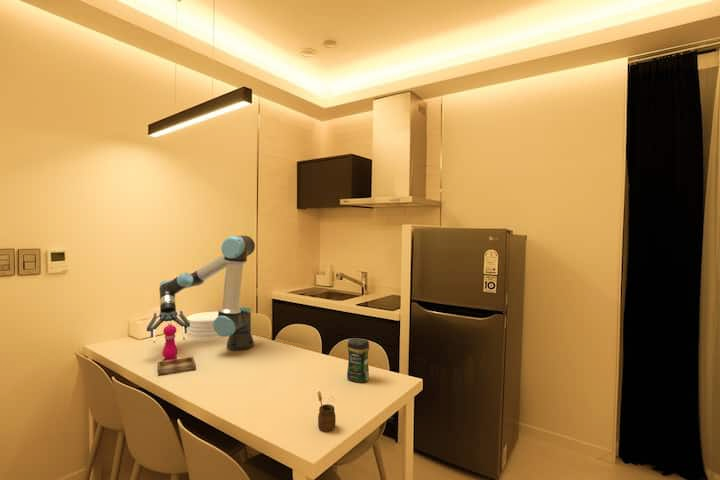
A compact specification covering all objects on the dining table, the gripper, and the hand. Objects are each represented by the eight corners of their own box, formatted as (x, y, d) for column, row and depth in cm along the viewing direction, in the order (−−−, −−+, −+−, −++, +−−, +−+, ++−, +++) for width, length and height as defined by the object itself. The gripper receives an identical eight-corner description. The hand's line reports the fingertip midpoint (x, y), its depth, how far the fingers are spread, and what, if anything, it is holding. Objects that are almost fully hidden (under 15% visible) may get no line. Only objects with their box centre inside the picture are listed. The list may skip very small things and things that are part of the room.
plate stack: (177, 338, 241) (177, 320, 240) (202, 327, 268) (202, 310, 268) (218, 340, 236) (218, 322, 236) (240, 329, 264) (240, 312, 263)
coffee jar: (344, 380, 174) (344, 339, 173) (353, 374, 181) (353, 335, 180) (363, 384, 169) (363, 342, 168) (371, 378, 176) (371, 338, 175)
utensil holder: (330, 433, 128) (330, 398, 128) (314, 429, 131) (314, 394, 131) (338, 425, 134) (338, 391, 133) (322, 421, 136) (322, 388, 136)
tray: (193, 362, 196) (192, 356, 196) (195, 370, 186) (195, 363, 186) (157, 367, 189) (157, 361, 189) (158, 376, 178) (158, 369, 178)
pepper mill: (171, 364, 194) (171, 324, 194) (159, 362, 196) (158, 323, 195) (181, 359, 201) (180, 321, 201) (168, 358, 203) (168, 320, 202)
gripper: (192, 307, 218) (195, 340, 205) (141, 311, 206) (141, 347, 193) (193, 299, 213) (196, 333, 201) (141, 303, 201) (141, 339, 189)
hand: (169, 340), depth 197 cm, fingers open, 13 cm apart
